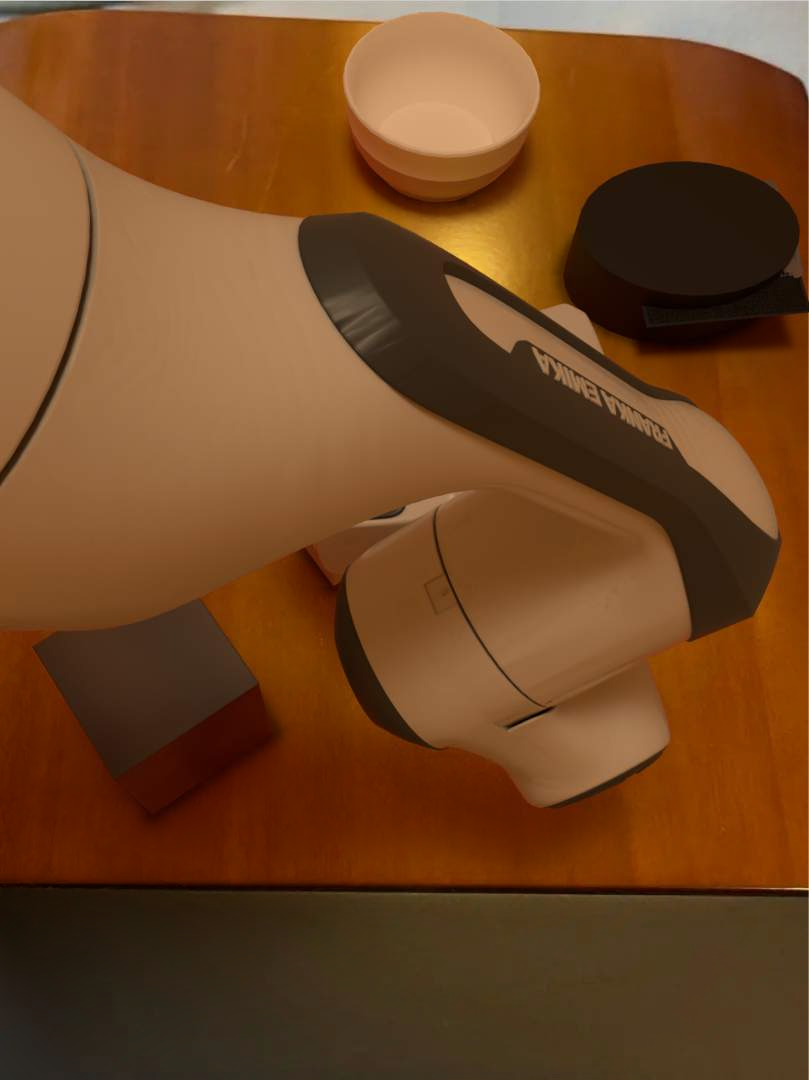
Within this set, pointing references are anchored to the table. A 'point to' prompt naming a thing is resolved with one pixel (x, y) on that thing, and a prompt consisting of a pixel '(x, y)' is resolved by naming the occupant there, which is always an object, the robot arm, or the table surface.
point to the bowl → (439, 103)
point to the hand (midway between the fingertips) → (383, 298)
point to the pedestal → (159, 699)
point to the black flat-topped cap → (685, 253)
